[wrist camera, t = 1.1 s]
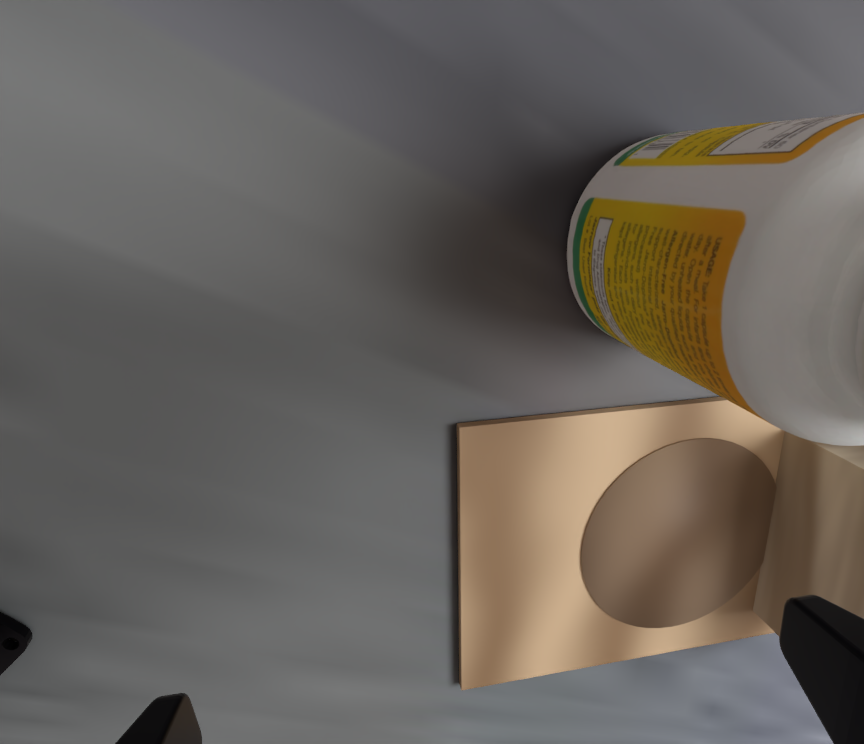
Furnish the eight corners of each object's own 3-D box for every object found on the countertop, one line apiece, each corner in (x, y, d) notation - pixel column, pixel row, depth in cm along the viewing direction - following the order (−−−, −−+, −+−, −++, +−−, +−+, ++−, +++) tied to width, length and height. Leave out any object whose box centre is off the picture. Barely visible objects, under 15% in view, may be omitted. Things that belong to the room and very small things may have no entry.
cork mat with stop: (459, 682, 26) (497, 807, 20) (456, 423, 22) (502, 497, 17) (788, 622, 28) (892, 718, 23) (837, 384, 25) (973, 438, 20)
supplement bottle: (652, 87, 19) (1209, -55, 7) (781, 221, 22) (1357, 276, 10) (517, 268, 20) (818, 399, 8) (654, 378, 23) (1040, 600, 11)
